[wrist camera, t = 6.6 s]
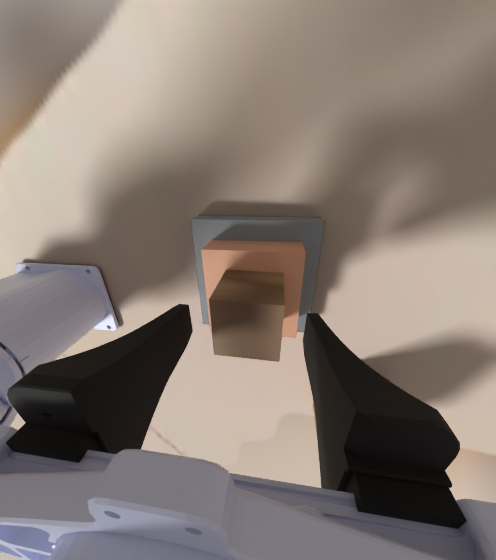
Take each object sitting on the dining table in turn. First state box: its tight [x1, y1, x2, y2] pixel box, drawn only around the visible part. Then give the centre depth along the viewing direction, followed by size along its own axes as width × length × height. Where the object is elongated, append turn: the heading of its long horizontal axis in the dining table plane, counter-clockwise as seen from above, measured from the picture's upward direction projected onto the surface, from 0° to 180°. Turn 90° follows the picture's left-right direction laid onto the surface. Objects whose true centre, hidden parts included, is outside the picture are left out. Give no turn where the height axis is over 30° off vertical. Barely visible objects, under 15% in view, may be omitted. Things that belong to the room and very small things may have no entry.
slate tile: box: [190, 215, 325, 332], centre depth 19 cm, size 10×10×2 cm
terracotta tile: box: [201, 240, 306, 338], centre depth 16 cm, size 7×7×2 cm
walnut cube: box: [209, 270, 285, 362], centre depth 14 cm, size 4×4×4 cm
